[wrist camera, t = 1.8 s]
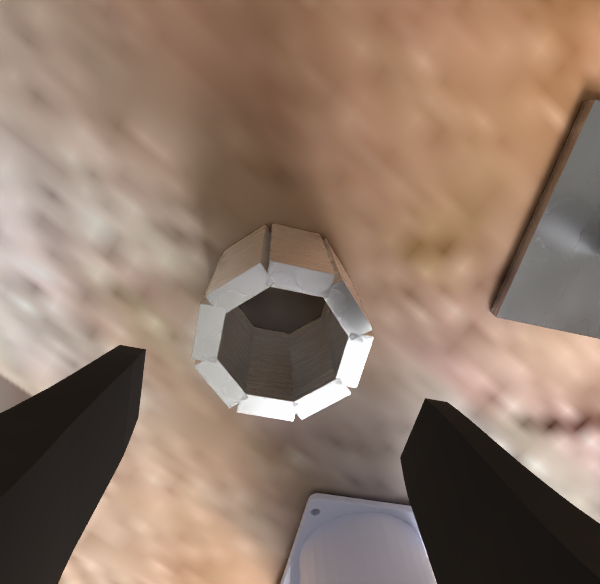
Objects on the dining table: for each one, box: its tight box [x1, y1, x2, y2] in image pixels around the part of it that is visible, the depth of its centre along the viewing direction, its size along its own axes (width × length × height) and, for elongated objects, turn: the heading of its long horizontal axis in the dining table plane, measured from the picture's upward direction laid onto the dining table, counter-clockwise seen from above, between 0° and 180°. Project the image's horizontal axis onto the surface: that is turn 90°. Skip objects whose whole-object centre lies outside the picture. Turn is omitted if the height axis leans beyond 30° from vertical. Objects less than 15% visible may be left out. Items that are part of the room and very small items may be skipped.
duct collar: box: [191, 223, 374, 421], centre depth 16 cm, size 6×6×5 cm
